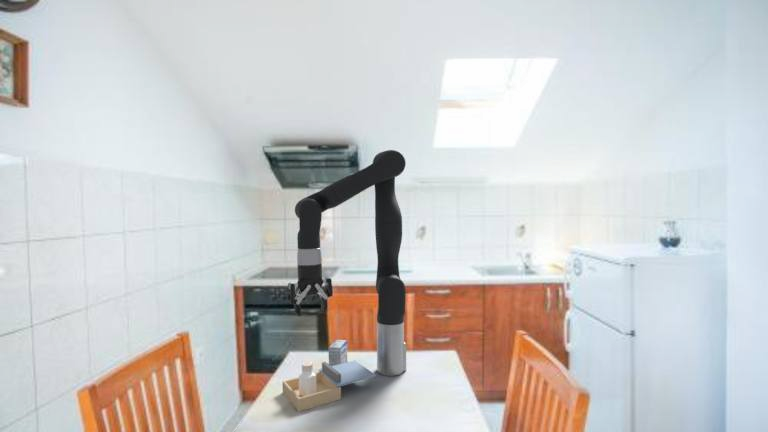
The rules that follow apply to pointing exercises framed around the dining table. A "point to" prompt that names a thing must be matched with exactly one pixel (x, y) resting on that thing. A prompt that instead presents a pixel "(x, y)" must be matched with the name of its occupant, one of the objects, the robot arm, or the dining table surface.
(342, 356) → the medicine box
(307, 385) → the pepper shaker
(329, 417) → the dining table surface
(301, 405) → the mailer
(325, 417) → the dining table surface
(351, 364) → the lid
